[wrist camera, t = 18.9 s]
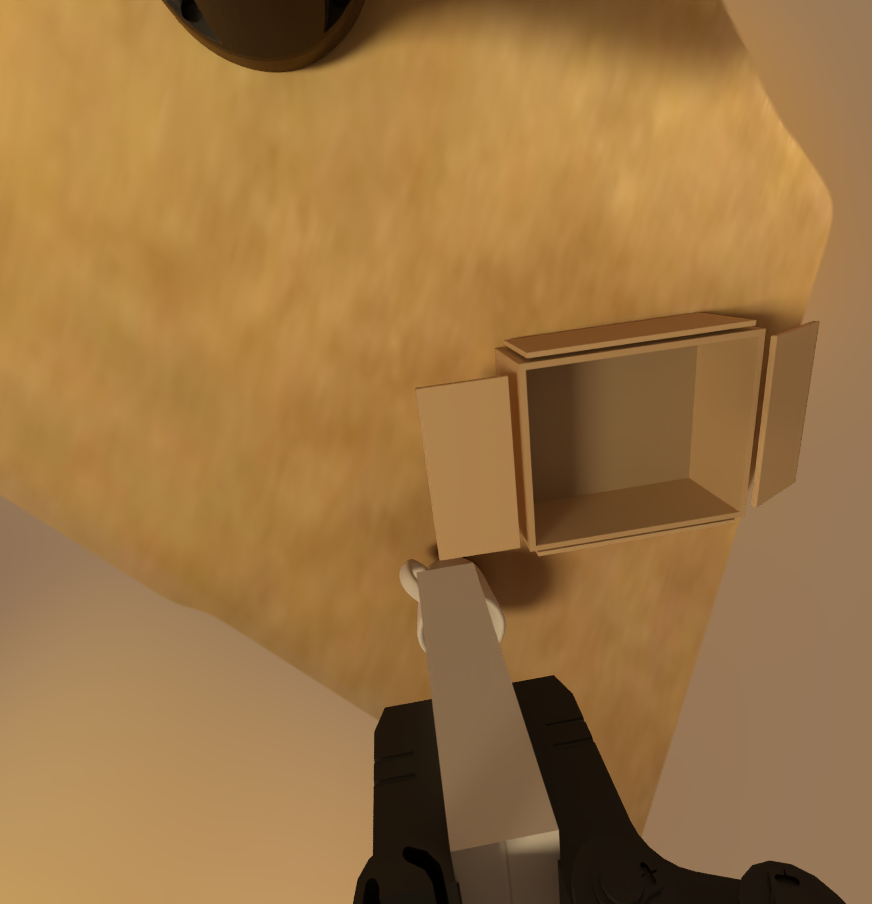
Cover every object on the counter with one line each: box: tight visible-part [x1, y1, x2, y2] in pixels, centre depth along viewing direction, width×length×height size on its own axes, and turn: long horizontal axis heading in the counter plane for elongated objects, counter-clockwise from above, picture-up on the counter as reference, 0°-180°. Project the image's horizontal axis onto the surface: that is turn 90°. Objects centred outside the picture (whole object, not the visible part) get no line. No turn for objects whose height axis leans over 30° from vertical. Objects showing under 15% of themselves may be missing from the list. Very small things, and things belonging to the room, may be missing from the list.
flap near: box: [415, 375, 520, 561], centre depth 39 cm, size 15×1×7 cm
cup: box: [400, 557, 505, 653], centre depth 47 cm, size 11×8×8 cm
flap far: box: [751, 321, 819, 507], centre depth 42 cm, size 15×1×7 cm
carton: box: [495, 312, 766, 556], centre depth 43 cm, size 17×19×8 cm
